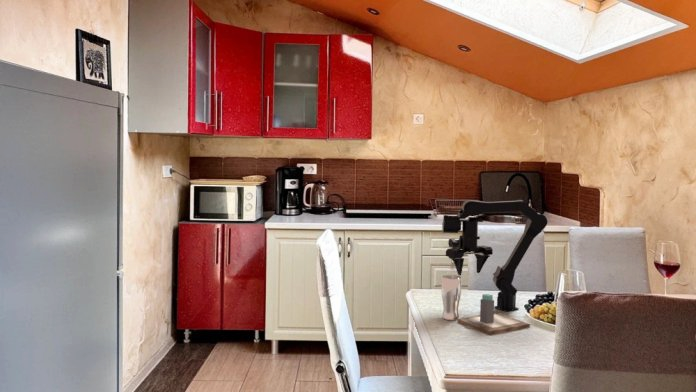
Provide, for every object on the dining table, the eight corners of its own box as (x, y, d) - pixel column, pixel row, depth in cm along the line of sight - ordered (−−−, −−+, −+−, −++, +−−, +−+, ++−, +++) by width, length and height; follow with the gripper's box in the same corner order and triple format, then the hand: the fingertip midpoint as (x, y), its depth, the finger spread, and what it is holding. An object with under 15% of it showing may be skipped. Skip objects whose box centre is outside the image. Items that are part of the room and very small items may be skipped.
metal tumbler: (460, 321, 201) (461, 279, 200) (440, 320, 203) (441, 278, 202) (460, 316, 208) (461, 275, 207) (441, 315, 209) (442, 274, 208)
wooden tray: (496, 315, 209) (496, 309, 209) (529, 327, 195) (530, 320, 195) (457, 322, 201) (457, 316, 200) (490, 335, 187) (490, 328, 186)
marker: (494, 322, 196) (494, 295, 195) (486, 323, 194) (487, 297, 194) (487, 319, 199) (487, 293, 198) (479, 321, 197) (480, 294, 196)
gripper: (474, 229, 229) (473, 268, 230) (436, 232, 220) (436, 272, 221) (494, 232, 219) (493, 273, 221) (455, 236, 210) (455, 278, 211)
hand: (468, 274), depth 219 cm, fingers open, 9 cm apart
